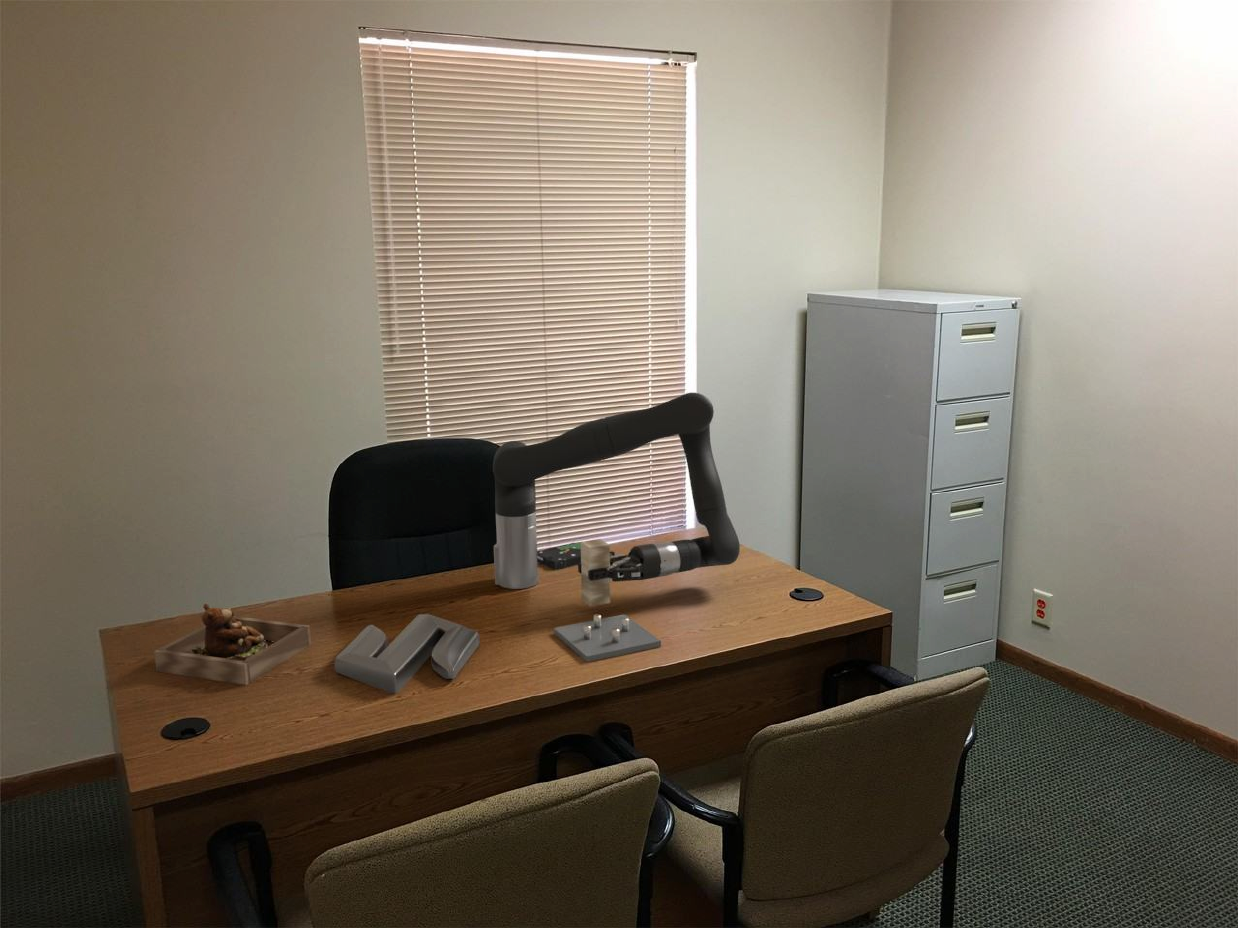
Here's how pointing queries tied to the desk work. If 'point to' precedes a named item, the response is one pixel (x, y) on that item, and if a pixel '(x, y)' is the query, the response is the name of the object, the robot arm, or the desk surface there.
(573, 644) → the slate base plate
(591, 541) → the birch post
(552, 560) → the disk drive
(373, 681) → the emblem
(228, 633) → the bear figurine
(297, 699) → the desk surface
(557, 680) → the desk surface
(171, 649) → the walnut display rim
